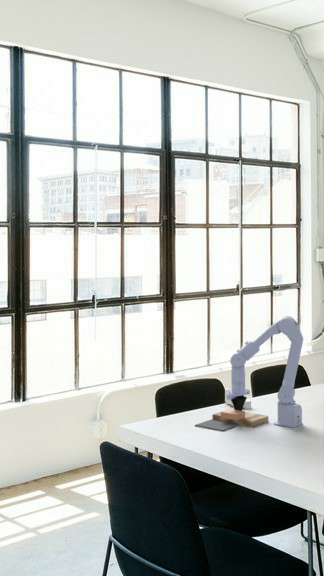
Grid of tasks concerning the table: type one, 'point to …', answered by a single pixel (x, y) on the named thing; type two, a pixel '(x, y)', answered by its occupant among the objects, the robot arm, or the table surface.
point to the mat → (217, 425)
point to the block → (233, 414)
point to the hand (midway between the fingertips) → (238, 413)
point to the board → (244, 419)
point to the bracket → (246, 404)
